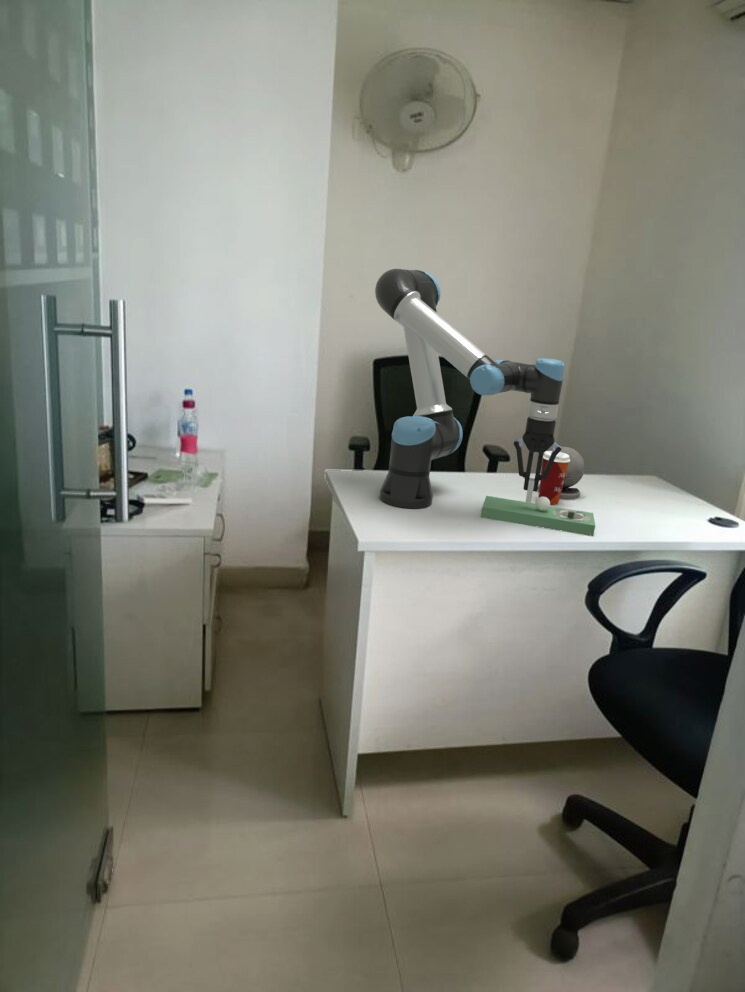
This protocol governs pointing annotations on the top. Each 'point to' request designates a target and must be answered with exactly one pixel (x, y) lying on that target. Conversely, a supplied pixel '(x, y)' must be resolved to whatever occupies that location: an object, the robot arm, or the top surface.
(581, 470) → the webcam
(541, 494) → the coffee cup
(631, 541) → the top surface
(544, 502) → the ball
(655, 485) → the top surface
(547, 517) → the putting strip
